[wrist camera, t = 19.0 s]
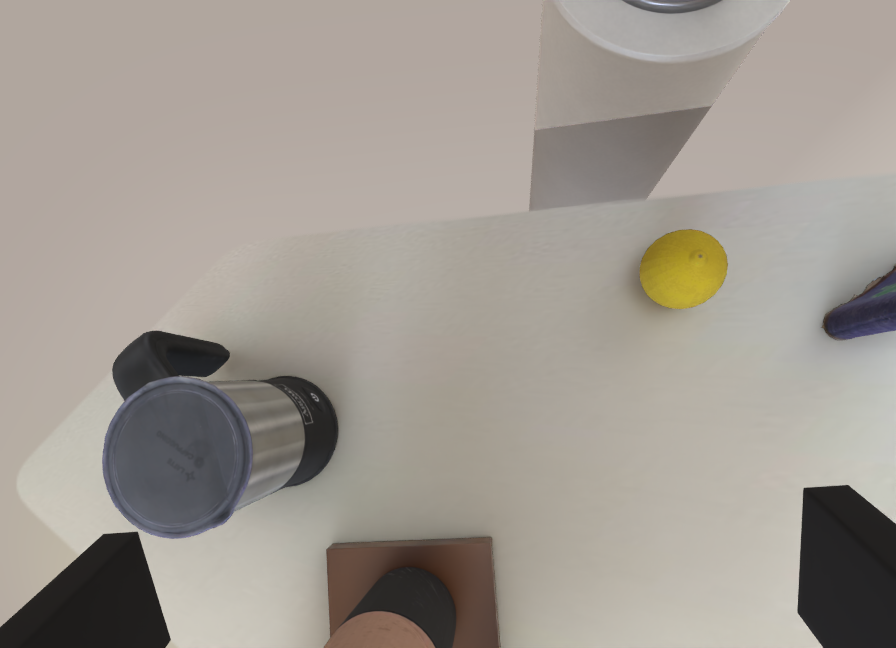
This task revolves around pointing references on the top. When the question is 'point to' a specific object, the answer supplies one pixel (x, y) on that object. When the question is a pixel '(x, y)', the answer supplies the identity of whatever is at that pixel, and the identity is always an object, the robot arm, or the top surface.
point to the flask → (865, 311)
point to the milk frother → (206, 436)
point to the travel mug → (400, 614)
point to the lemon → (683, 269)
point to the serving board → (448, 559)
